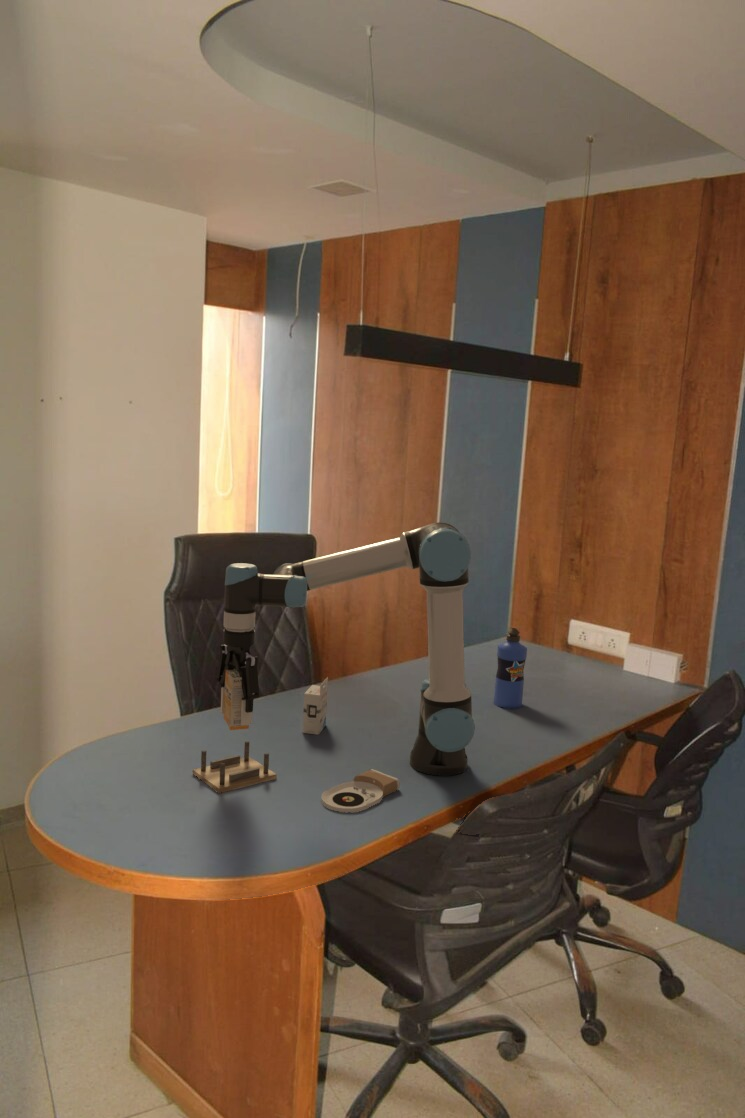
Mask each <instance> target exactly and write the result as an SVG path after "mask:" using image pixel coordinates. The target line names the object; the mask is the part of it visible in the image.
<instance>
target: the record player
mask: <svg viewBox="0 0 745 1118" xmlns="http://www.w3.org/2000/svg"><path fill="white" fill-rule="evenodd" d="M396 790H397V791H399V790H400V780H399V778H397V777H395V776H392V775H390V774H389V775H388V774H386V773H384V772H381V771H379V770H376V769H373V768H371V769H369V770H366V771H364V772H362V773H360V774H357V775H355V776H354V778H353V781H352V780H351V781H346V782H343V783H340V784H338V785H335V786H333V787H331V788H329V789H327V790H325V791H323V792H322V794H321V798H320V799H321V800H320V802H321V804H322V805H323V806H324V807H325V808H327V809H329V810H330V811H333V810H334V812H337V811H339V812H338V813H344V812H345V813H347V814H348V812H351V813H353V814H354V813H358V812H359V811H360V812H362V810H363V811H365V810H368V809H369V807H370V808H372V807H374V806H375V804H376V805H378V804H379V803H381V802H382V801H383V799H382V798H384V796H385V797H386V795H387V796H388V794H389V795H391V794H393V793H395V792H397V791H396ZM394 791H395V792H394ZM392 792H393V793H392ZM390 793H391V794H390ZM381 800H382V801H381ZM380 801H381V802H380ZM377 803H378V804H377ZM373 805H374V806H373ZM371 806H372V807H371ZM360 812H359V813H360Z"/></svg>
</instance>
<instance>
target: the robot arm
mask: <svg viewBox="0 0 745 1118" xmlns="http://www.w3.org/2000/svg"><path fill="white" fill-rule="evenodd" d="M471 553H472V552H471V547H470V544H469V543H468V540H467V538H466V537H465V536H464V535H463V534H462V533H461V532H460V531H459V530H458V529H457V528H456V527H455V526H454V525H451V524H450V523H447V522H440V521H439V522H433V523H430V524H426V525H424V526H420V527H417V528H414V529H411V530H407V531H403V532H402V533H401V535H400V536H399V537H395V538H391V539H388V540H384V541H379V542H375V543H373V544H372V543H371V544H367V545H363V546H360V547H356V548H352V549H348V550H344V551H339V552H335V553H332V554H327V555H324V556H320V557H315V558H312V559H307V560H303V561H299V562H296V563H290V562H289V563H283V564H281V565H279V566H278V567H276V569H275V570H274V571H273V573H272V574H269V573H268V574H265V573H259V571H258V567H257V565H255V564H252V563H246V562H245V563H243V562H240V563H239V562H237V563H231V564H229V565H228V566H227V567H226V569H225V578H224V579H225V580H224V600H223V601H224V602H223V603H224V605H223V606H224V609H223V623H222V625H223V628H224V629H223V631H222V632H223V633H222V636H223V637H222V643H223V644H221V645H220V646H219V658H218V664H217V671H216V675H215V676H216V677H215V679H216V680H215V682H217V683H219V687H221V688H220V714H223V715H224V694H225V675H226V670H230V669H236V670H237V672H239V676H240V677H241V678H242V691H243V695H244V697H243V698H241V699H242V703H241V725H242V726H243V725H248V724H249V725H253V712H254V699H259V698H260V688H259V674H258V661H259V658H258V656H252V655H251V649H250V648H251V647H252V646H253V645H254V644H255V641H256V629H254V628H255V627H256V616H257V614H256V611H257V606H265V607H266V606H267V607H268V606H269V607H283V608H290V609H291V608H303V607H305V606H306V604H307V596H308V595H307V594H308V591H312V590H316V589H320V588H324V587H328V586H333V585H336V584H339V583H340V584H341V583H345V582H348V581H353V580H356V579H360V578H365V577H369V576H373V575H377V574H381V573H385V572H391V571H394V570H397V569H402V568H409V569H411V570H415V569H418V570H419V571H418V572H419V586H421V587H422V588H423V589H424V591H426V620H427V621H426V623H427V645H428V646H427V647H428V648H427V649H428V678H426V679H424V680H423V681H422V682H421V687H420V703H419V717H418V732H417V733H418V734H417V736H416V739H415V741H414V743H413V748H412V749H411V751H410V755H409V765H410V766H411V767H412V768H413V769H415V770H416V771H418V772H421V773H423V774H429V775H432V776H433V775H434V776H442V777H443V776H444V777H445V776H455V775H460V774H461V773H464V772H465V771H467V769H468V761H469V760H468V755H467V754H466V747H467V746H469V744H470V743H471V742H472V740H473V739H474V735H475V729H476V725H475V722H474V721H475V720H474V719H473V711H472V710H473V708H472V704H473V703H472V691H471V690H470V689H469V688H468V686H467V684H466V682H465V681H466V680H465V679H466V676H465V674H466V673H465V644H464V643H465V641H464V637H465V636H464V635H465V634H464V633H465V632H464V608H463V607H464V604H463V603H464V602H463V597H464V595H463V591H464V589H465V588H466V587H467V586H468V585H469V566H470V564H471V558H472V557H471V556H472V554H471Z"/></svg>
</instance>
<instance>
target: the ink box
mask: <svg viewBox="0 0 745 1118" xmlns="http://www.w3.org/2000/svg"><path fill="white" fill-rule="evenodd" d="M328 686H329V676H327V677H326V678H325V679H324V680H323V681H322V682H321V684H320V685H318V684H317V685H315V684H312V685H311V686H310V687H309V688H308V689H307V690H306V691H305V692H304V693H303V712H302V713H303V716H302V733H303V734H310V735H311V734H312V735H320V734H321V732H322V731H323V729H325V726H326V724H327V708H328V707H327V706H328V689H329V687H328Z"/></svg>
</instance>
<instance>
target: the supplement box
mask: <svg viewBox="0 0 745 1118" xmlns="http://www.w3.org/2000/svg"><path fill="white" fill-rule="evenodd" d="M243 697H244V695H243V691H242V678H241V677H240V676H239V672H237V670H236V669H230V670H226V675H225V694H224V713H223V719H224V721H225V722H226V724H227V726H228V728H229V730H230V731H235V730H237V731H238V730H239V731H240V730H248V729H249V725H250V724H248V725H243V726H242V725H241V703H242V699H241V698H243Z"/></svg>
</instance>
